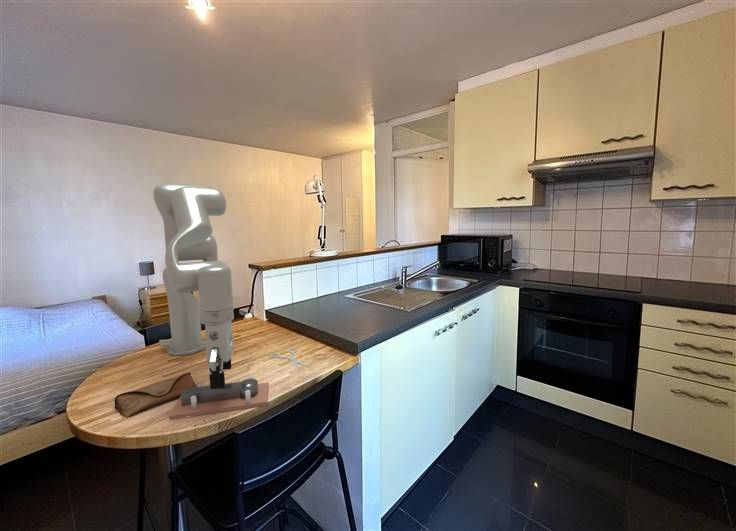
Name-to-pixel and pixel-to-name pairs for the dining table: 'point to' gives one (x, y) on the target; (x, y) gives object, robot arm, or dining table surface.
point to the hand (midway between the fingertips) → (221, 377)
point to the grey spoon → (220, 392)
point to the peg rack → (221, 403)
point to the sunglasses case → (152, 395)
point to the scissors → (289, 358)
